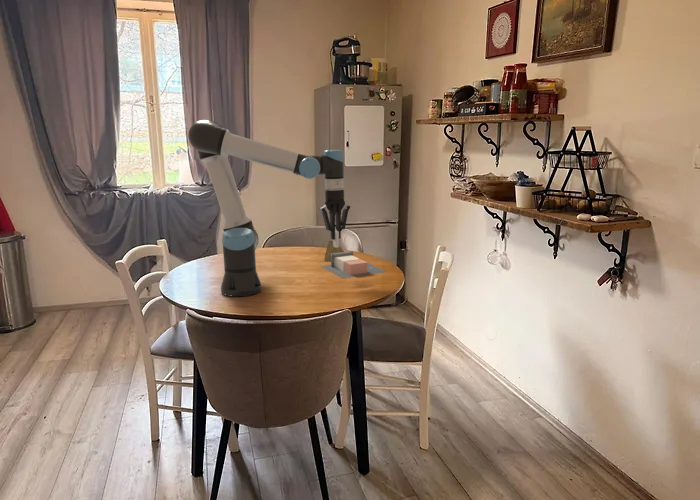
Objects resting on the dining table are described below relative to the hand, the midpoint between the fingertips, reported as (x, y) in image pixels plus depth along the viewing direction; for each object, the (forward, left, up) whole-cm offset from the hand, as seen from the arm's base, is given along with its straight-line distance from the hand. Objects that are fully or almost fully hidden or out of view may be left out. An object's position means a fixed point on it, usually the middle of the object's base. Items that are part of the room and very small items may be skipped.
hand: (336, 246), depth 205 cm
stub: (+9, 0, -12) cm, 15 cm away
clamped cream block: (+9, +10, -12) cm, 18 cm away
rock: (+11, +24, -13) cm, 30 cm away
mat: (+11, +6, -13) cm, 18 cm away
